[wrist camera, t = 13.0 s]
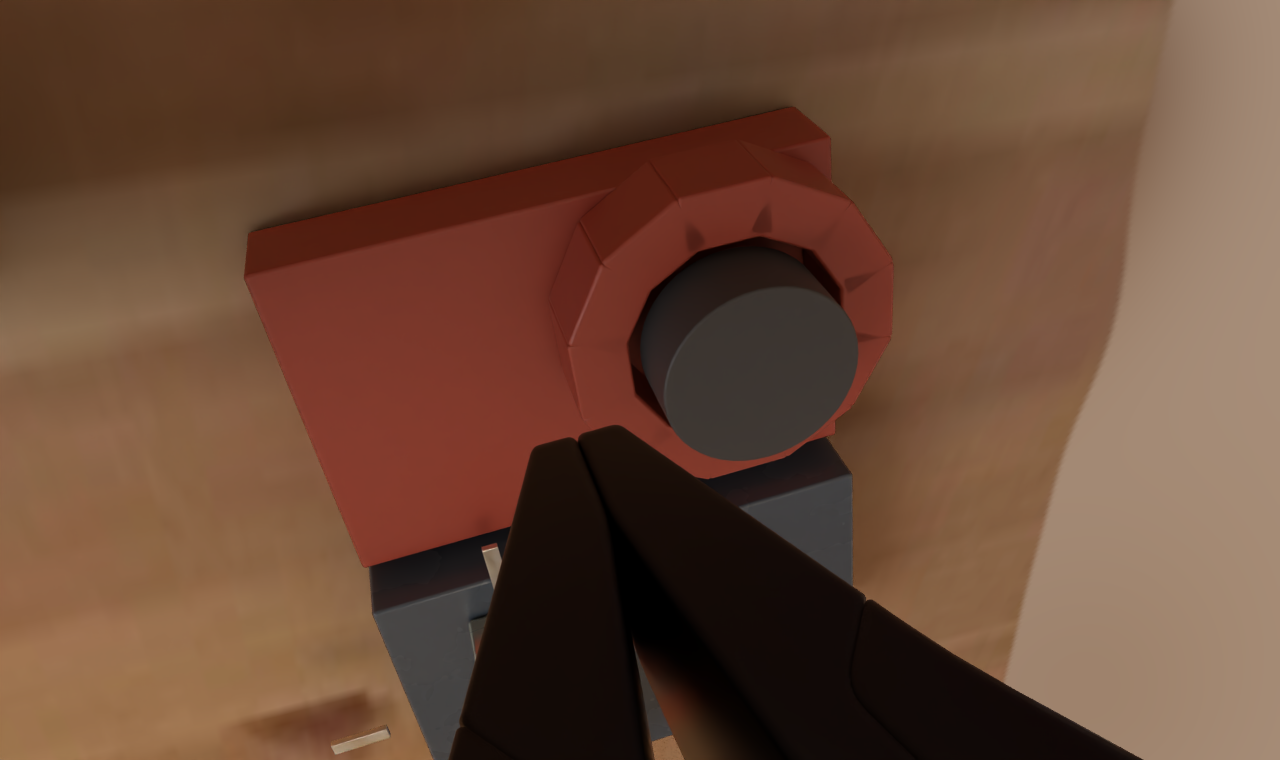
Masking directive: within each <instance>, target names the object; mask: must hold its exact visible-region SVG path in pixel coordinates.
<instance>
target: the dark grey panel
mask: <svg viewBox="0 0 1280 760" xmlns="http://www.w3.org/2000/svg"><path fill="white" fill-rule="evenodd" d="M696 478H697V479H699V480H700V481H702V482H703V483H705V484H706V485H708V486H709V487H710V488H712V489H713V490H715V491H716V492H718V493H719V494H720V495H722V496H723V497H725V498H726V499H728V500H729V501H731V502H732V503H733V504H735V505H736V506H738V507H739V508H741V509H742V510H743V511H745V512H746V513H748V514H749V515H751V516H752V517H754V518H755V519H756V520H758V521H759V522H761V523H762V524H764V525H765V526H766V527H768V528H769V529H771V530H772V531H774V532H775V533H777V534H778V535H779V536H781V537H782V538H784V539H785V540H787V541H788V542H789V543H791V544H792V545H794V546H795V547H797V548H798V549H800V550H801V551H802V552H804V553H805V554H807V555H808V556H810V557H811V558H812V559H814V560H815V561H817V562H818V563H820V564H821V565H823V566H824V567H825V568H827V569H828V570H830V571H831V572H833V573H834V574H835V575H837V576H838V577H840V578H841V579H843V580H844V581H846V582H847V583H848V584H850V585H851V586H853V516H852V473H851V472H850V471H849V469H848V468H847V466H846V465H845V463H844V462H843V461H842V459H841V458H840V456H839V455H838V454H837V452H836V451H835V449H834V448H833V446H832V445H831V444H830V442H829V441H828V439H827V438H826V437H823V438H819V439H816V440H812V441H809V442H806V443H805V444H804V445H802V446H801V447H800V448H799V449H797V450H796V451H795V452H793V453H792V454H791V455H789V456H786V457H785V458H782V459H778V460H775V461H771V462H768V463H764V464H761V465H757V466H754V467H750V468H747V469H743V470H740V471H736V472H733V473H729V474H726V475H722V476H719V477H715V478H709V479H704V478H698V477H696ZM510 528H511V526H510V527H507V528H503V529H499V530H496V531H492V532H489V533H485V534H482V535H478V536H475V537H471V538H468V539H464V540H461V541H457V542H454V543H450V544H447V545H443V546H440V547H436V548H433V549H429V550H426V551H422V552H419V553H415V554H412V555H408V556H405V557H401V558H398V559H394V560H391V561H387V562H383V563H380V564H376V565H373V566H369V576H370V589H371V602H372V615H373V617H374V619H375V622H376V624H377V627H378V629H379V631H380V634H381V636H382V638H383V641H384V643H385V646H386V648H387V650H388V653H389V655H390V657H391V660H392V662H393V665H394V667H395V669H396V672H397V674H398V676H399V679H400V681H401V684H402V686H403V688H404V691H405V693H406V695H407V698H408V700H409V703H410V705H411V707H412V710H413V712H414V714H415V717H416V719H417V722H418V724H419V726H420V729H421V731H422V733H423V736H424V738H425V741H426V743H427V745H428V748H429V750H430V753H431V755H432V757H433V760H448V759H449V755H450V751H451V748H452V744H453V740H454V737H455V733H456V730H457V729H458V728H459V727H460V724H459V720H460V716H461V712H462V708H463V705H464V701H465V697H466V693H467V690H468V686H469V682H470V678H471V675H472V671H473V667H474V663H475V660H474V654H473V649H472V643H471V637H470V632H469V626H468V625H469V622H470V621H471V620H474V619H478V618H481V617H484V616H487V615H488V611H489V607H490V603H491V600H492V596H493V592H494V588H495V585H496V581H497V577H498V573H499V570H500V566H501V562H502V558H503V555H504V551H505V547H506V543H507V540H508V536H509V532H510ZM634 649H635V647H634ZM635 654H636V659H637V664H638V669H639V674H640V679H641V684H642V690H643V696H644V701H645V707H646V713H647V719H648V724H649V730H650V736H651V742H652V741H655V740H658V739H661V738H664V737H667V736H671V735H673V733H672V731H671V729H670V727H669V725H668V723H667V720H666V718H665V716H664V714H663V712H662V710H661V708H660V705H659V703H658V701H657V699H656V697H655V695H654V692H653V690H652V688H651V686H650V684H649V682H648V679H647V677H646V675H645V672H644V670H643V668H642V665H641V663H640V661H639V658H638V655H637V653H636V650H635ZM388 738H390V731H389V729H388V727H387V725H383V726H380V727H377V728H374V729H370V730H367V731H364V732H361V733H357V734H354V735H351V736H348V737H344V738H341V739H338V740H335V741H332V742H331V747H332V749H333V751H334V753H335V755H336V754H340V753H343V752H346V751H349V750H352V749H356V748H359V747H362V746H365V745H369V744H372V743H375V742H378V741H381V740H385V739H388Z"/></svg>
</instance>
